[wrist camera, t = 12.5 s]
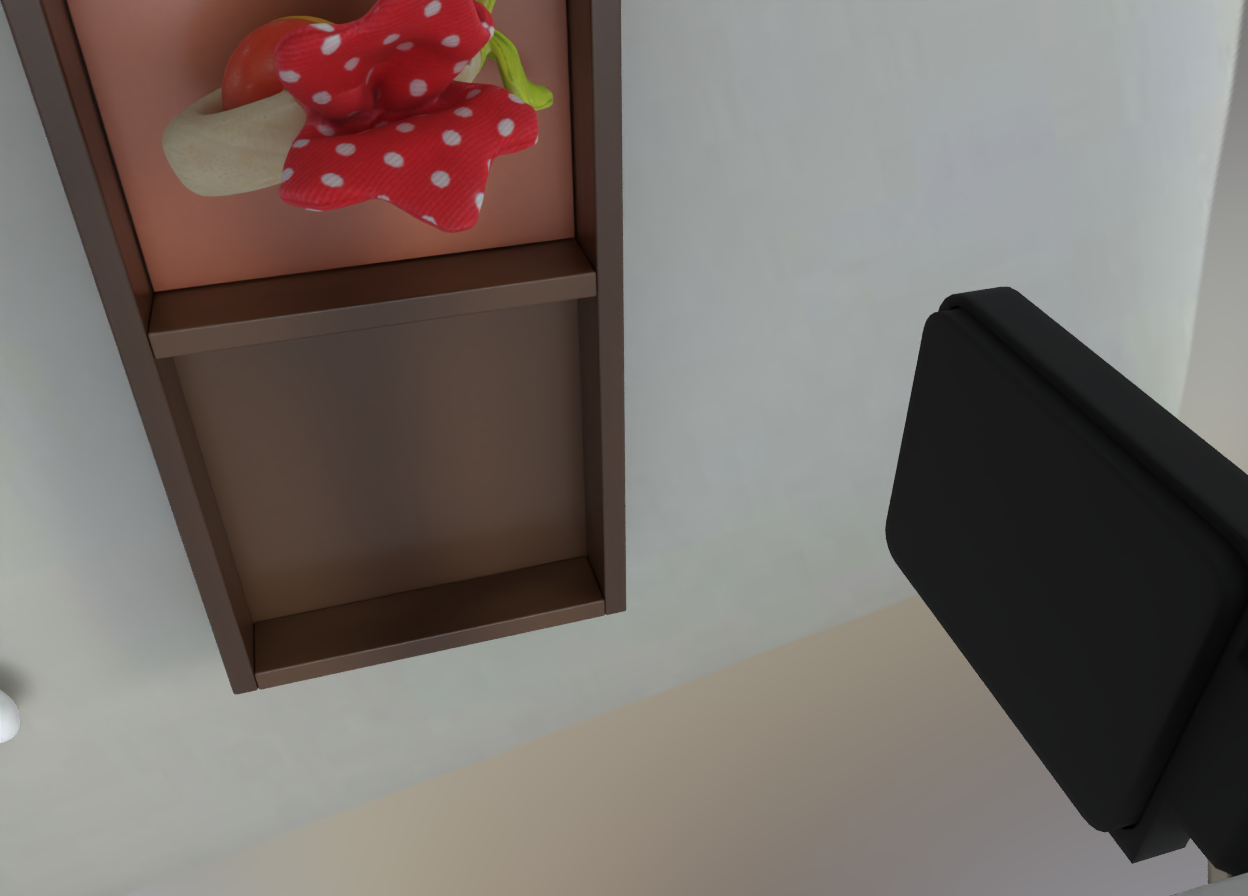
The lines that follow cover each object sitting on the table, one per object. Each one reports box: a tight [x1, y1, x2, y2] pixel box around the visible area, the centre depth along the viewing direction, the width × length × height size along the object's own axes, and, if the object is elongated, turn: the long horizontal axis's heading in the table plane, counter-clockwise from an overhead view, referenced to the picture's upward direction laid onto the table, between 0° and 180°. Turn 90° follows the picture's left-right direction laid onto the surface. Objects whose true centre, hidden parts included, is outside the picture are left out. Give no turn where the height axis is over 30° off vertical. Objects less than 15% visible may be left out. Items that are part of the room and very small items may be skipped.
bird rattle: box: [162, 0, 553, 233], centre depth 23 cm, size 6×11×9 cm
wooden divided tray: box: [1, 0, 626, 694], centre depth 30 cm, size 14×26×3 cm, turn 1°
